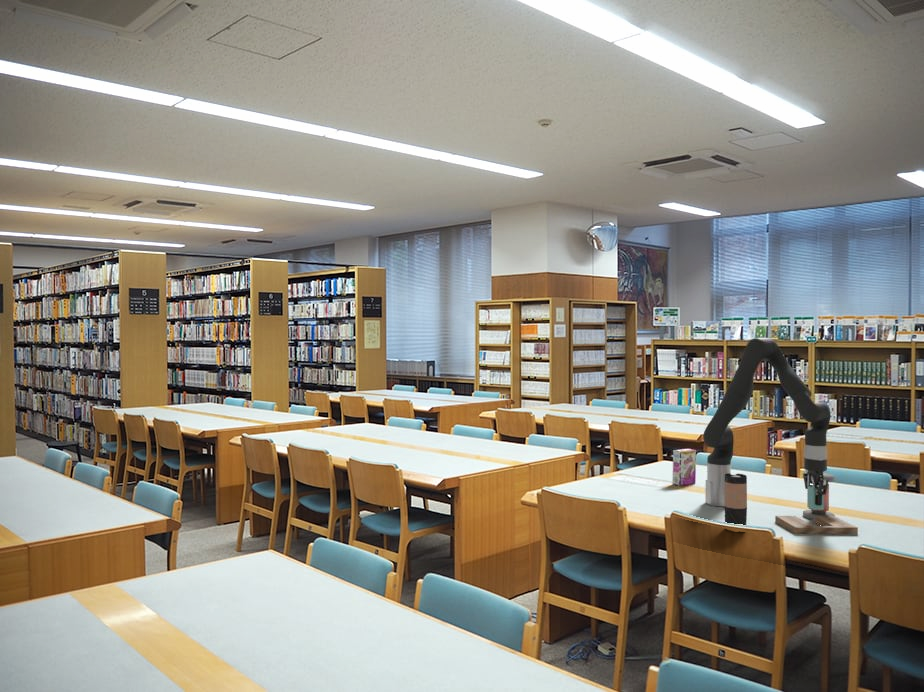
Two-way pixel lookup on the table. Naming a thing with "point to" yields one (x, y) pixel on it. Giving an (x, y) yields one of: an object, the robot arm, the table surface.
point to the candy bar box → (684, 467)
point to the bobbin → (812, 513)
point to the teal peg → (813, 499)
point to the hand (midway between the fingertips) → (815, 503)
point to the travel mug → (735, 498)
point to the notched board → (827, 526)
